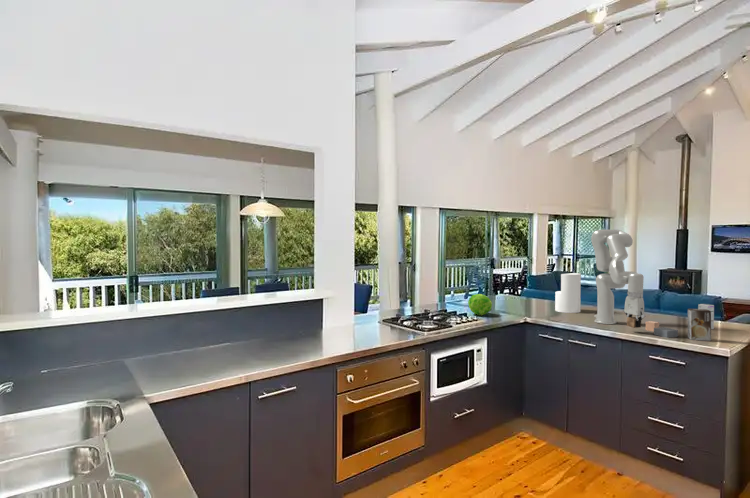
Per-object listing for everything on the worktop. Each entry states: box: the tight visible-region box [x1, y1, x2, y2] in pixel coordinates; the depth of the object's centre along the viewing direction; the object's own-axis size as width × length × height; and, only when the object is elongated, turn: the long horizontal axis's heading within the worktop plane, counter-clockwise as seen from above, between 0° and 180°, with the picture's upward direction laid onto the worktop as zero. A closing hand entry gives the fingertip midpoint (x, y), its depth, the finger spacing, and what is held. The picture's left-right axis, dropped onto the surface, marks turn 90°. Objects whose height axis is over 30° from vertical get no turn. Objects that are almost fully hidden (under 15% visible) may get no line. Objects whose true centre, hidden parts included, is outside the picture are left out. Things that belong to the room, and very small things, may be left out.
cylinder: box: [554, 272, 582, 314], centre depth 331 cm, size 17×17×28 cm
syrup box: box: [697, 303, 715, 330], centre depth 266 cm, size 6×6×14 cm
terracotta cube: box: [645, 320, 660, 332], centre depth 262 cm, size 5×5×5 cm
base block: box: [653, 326, 679, 339], centre depth 248 cm, size 8×8×4 cm
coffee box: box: [687, 308, 712, 342], centre depth 238 cm, size 9×6×16 cm
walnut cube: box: [626, 316, 640, 329], centre depth 256 cm, size 5×5×5 cm
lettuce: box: [467, 293, 493, 316], centre depth 317 cm, size 17×20×15 cm
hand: (633, 325), depth 257 cm, fingers closed on walnut cube, 5 cm apart
